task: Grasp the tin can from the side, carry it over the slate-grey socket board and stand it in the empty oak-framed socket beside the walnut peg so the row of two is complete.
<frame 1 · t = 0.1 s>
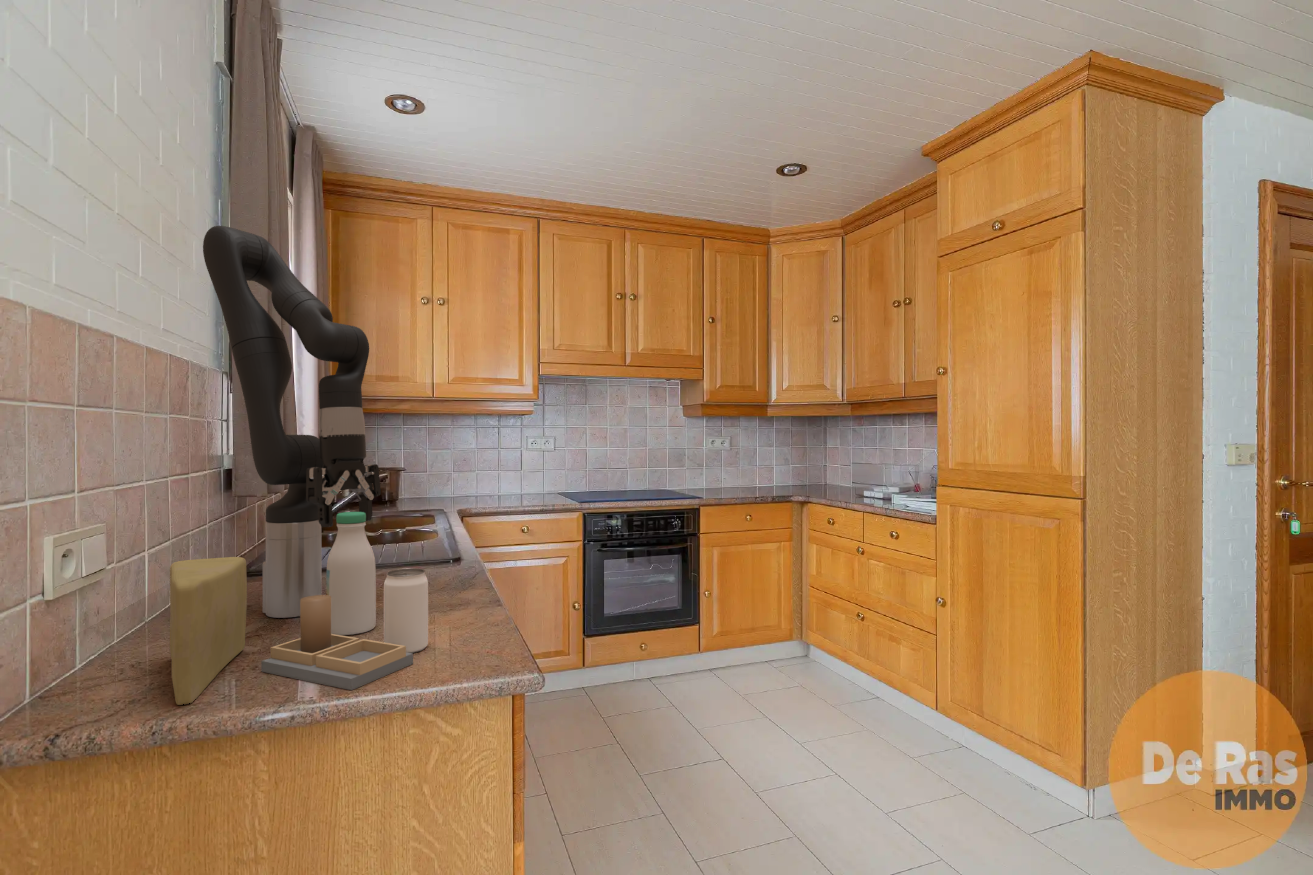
hand: (346, 523, 121), 17 cm above the counter, tool pointing down, fingers open, 8 cm apart
cheese: (198, 678, 93), on the counter
socket board: (338, 667, 96), on the counter
can: (406, 649, 105), on the counter
milk bottle: (351, 630, 115), on the counter
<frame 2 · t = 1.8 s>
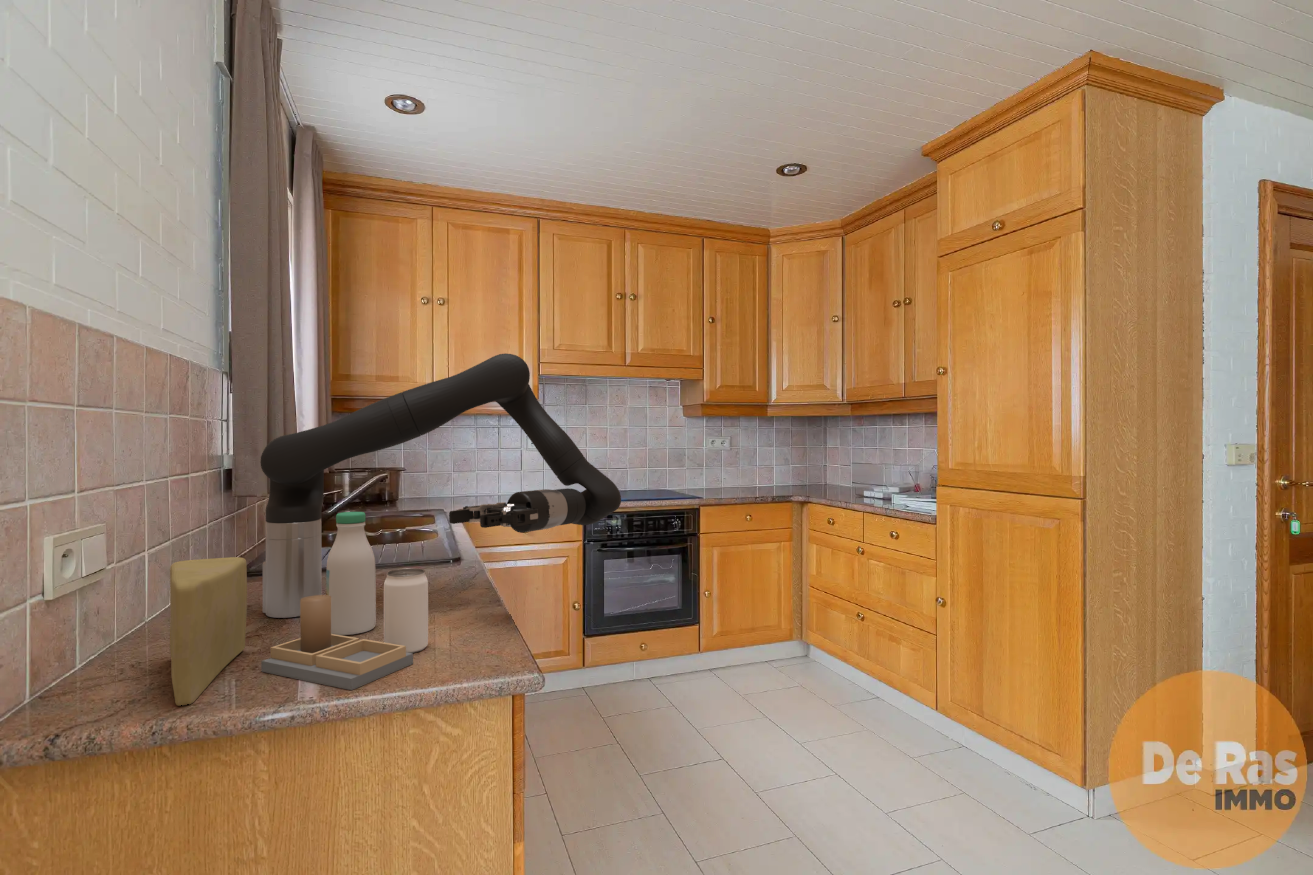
hand: (465, 519, 113), 19 cm above the counter, tool horizontal, fingers open, 8 cm apart
nothing on the counter moved.
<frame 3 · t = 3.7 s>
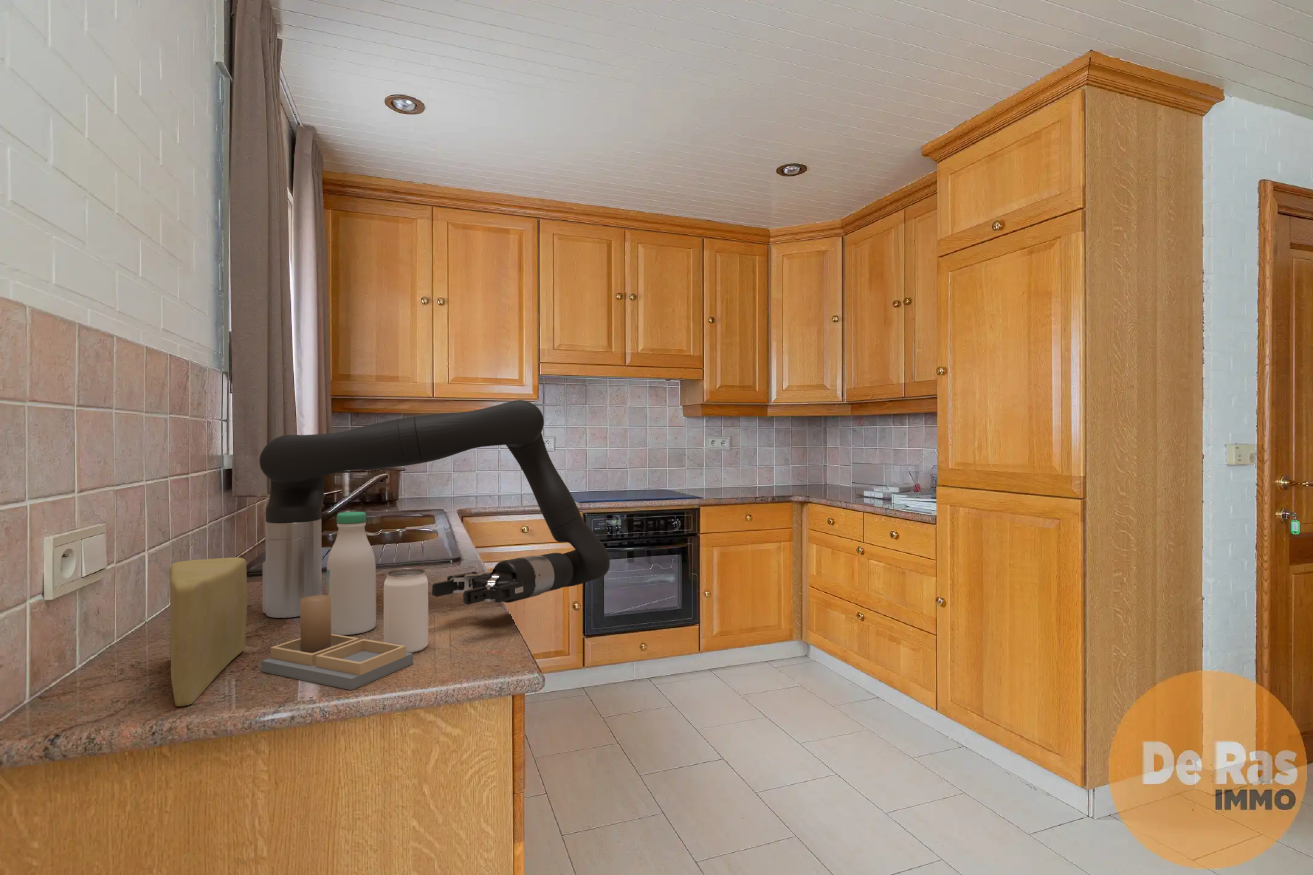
hand: (448, 594, 111), 7 cm above the counter, tool horizontal, fingers open, 8 cm apart
nothing on the counter moved.
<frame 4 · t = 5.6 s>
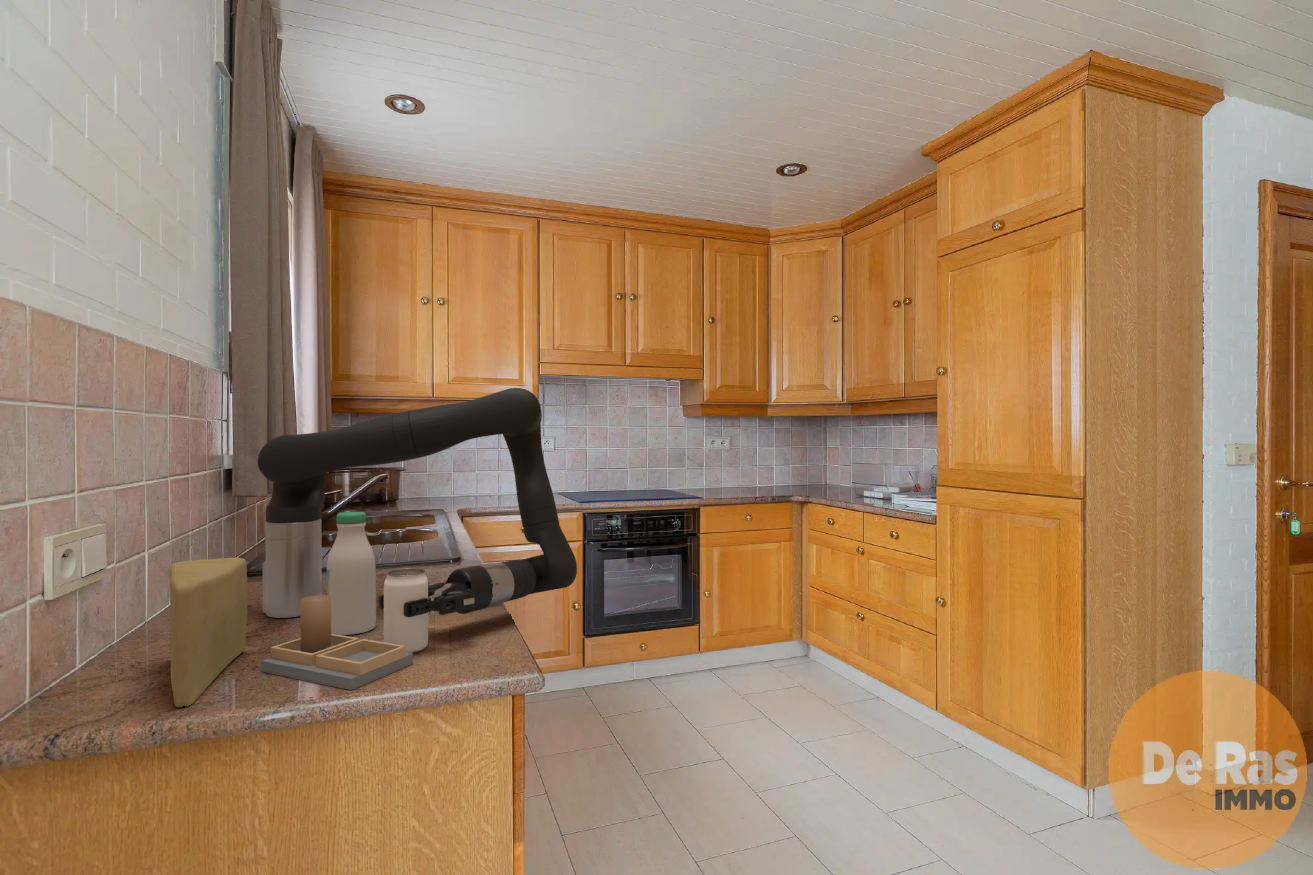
hand: (392, 606, 103), 7 cm above the counter, tool horizontal, fingers open, 6 cm apart
can: (406, 649, 105), on the counter, touching gripper
everything else where it was.
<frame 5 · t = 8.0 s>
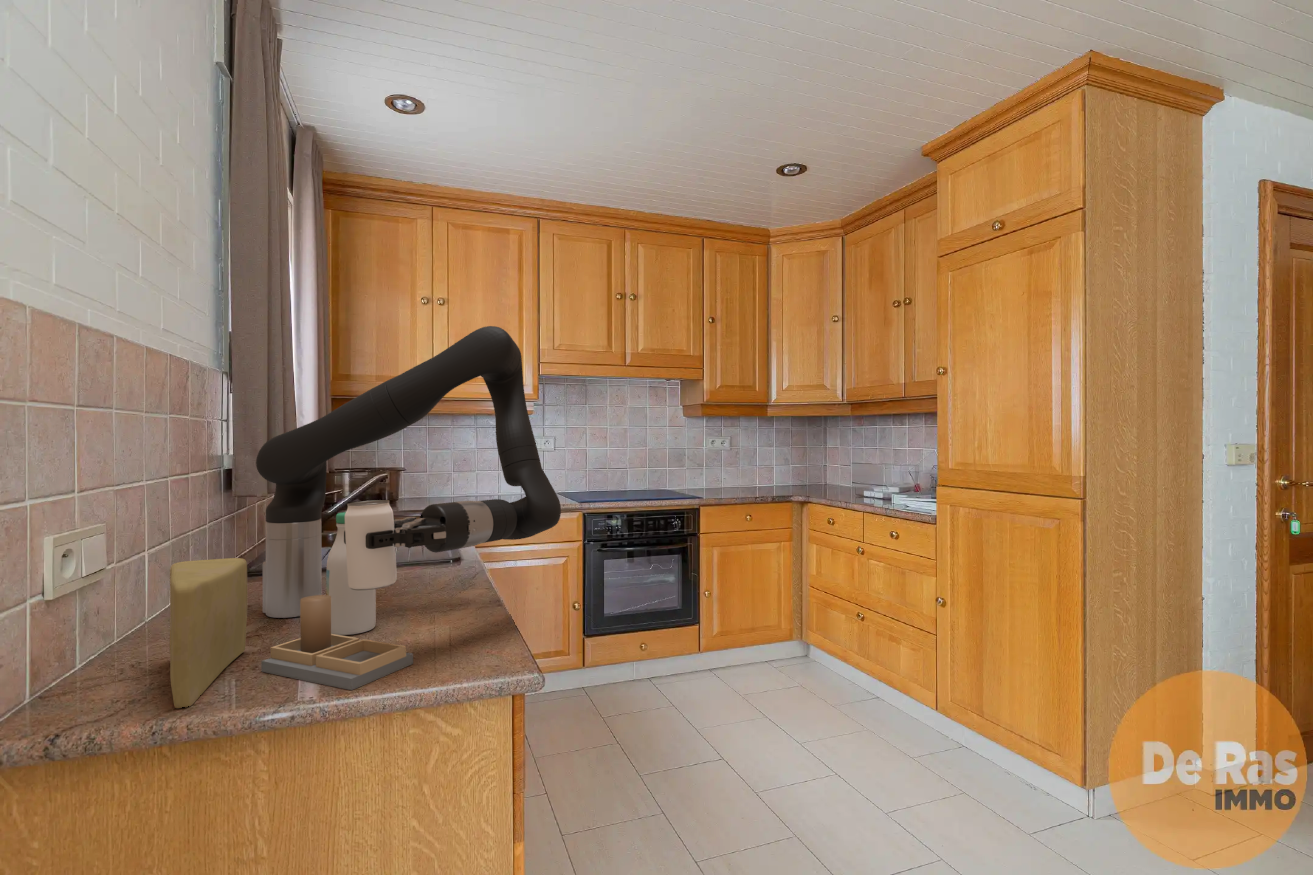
hand: (356, 539, 94), 19 cm above the counter, tool horizontal, fingers closed on can, 5 cm apart
can: (373, 586, 97), point 11 cm above the counter, touching gripper
when the fingers open (10 cm above the counter, at t = 10.2 s): can drops 2 cm, resting on socket board.
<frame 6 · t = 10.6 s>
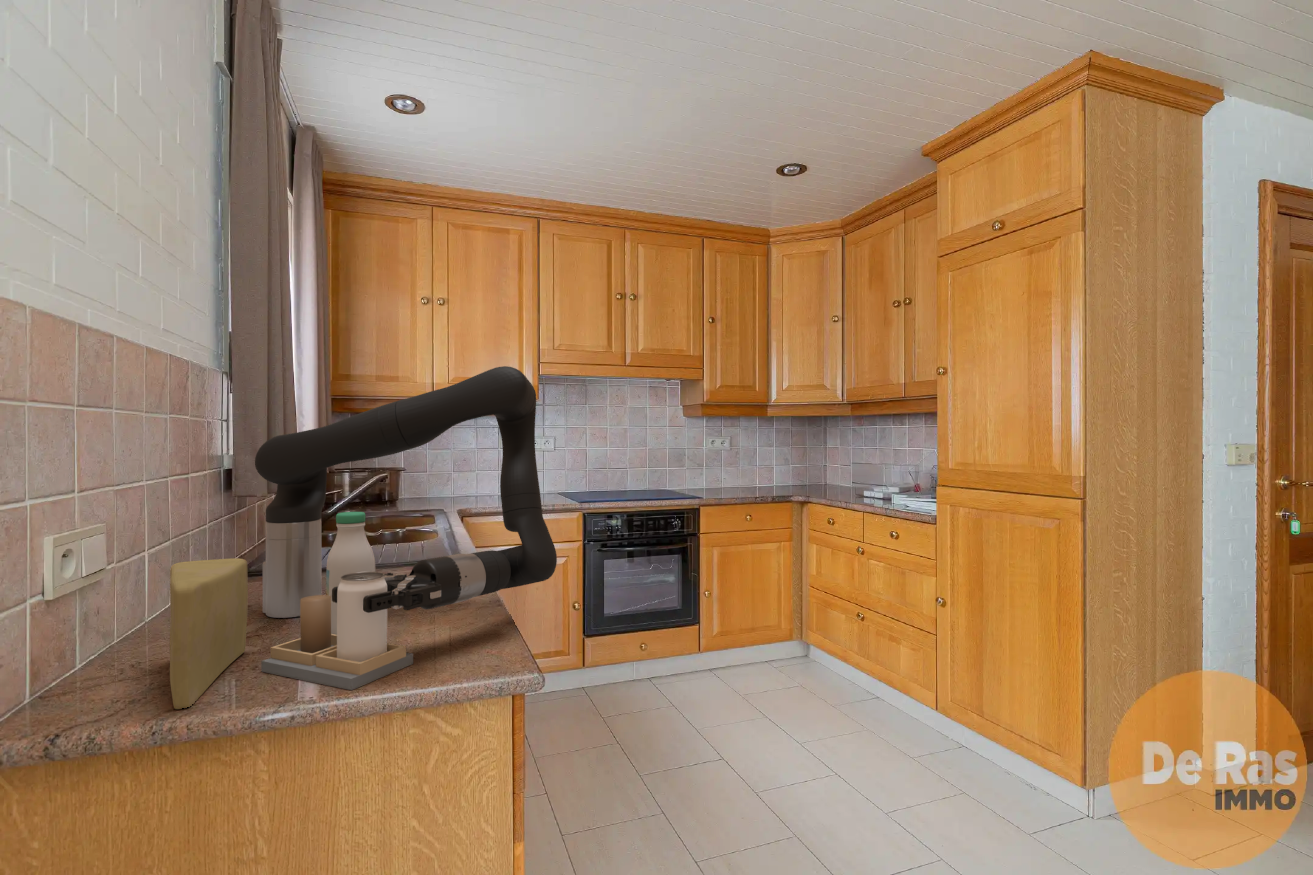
hand: (348, 600, 93), 11 cm above the counter, tool horizontal, fingers open, 8 cm apart
can: (362, 662, 95), point 1 cm above the counter, touching socket board
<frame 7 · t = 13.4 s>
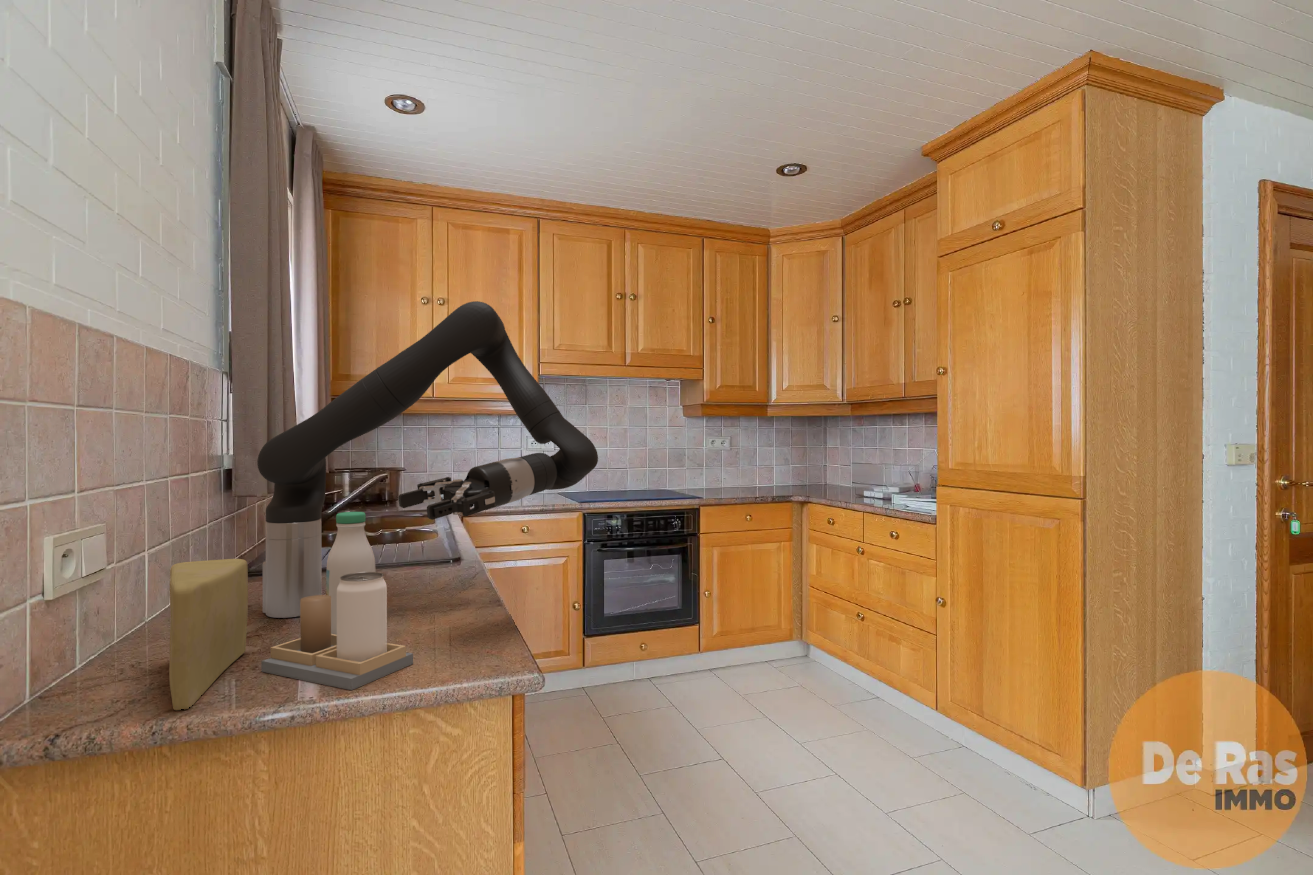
hand: (413, 507, 104), 22 cm above the counter, tool horizontal, fingers open, 8 cm apart
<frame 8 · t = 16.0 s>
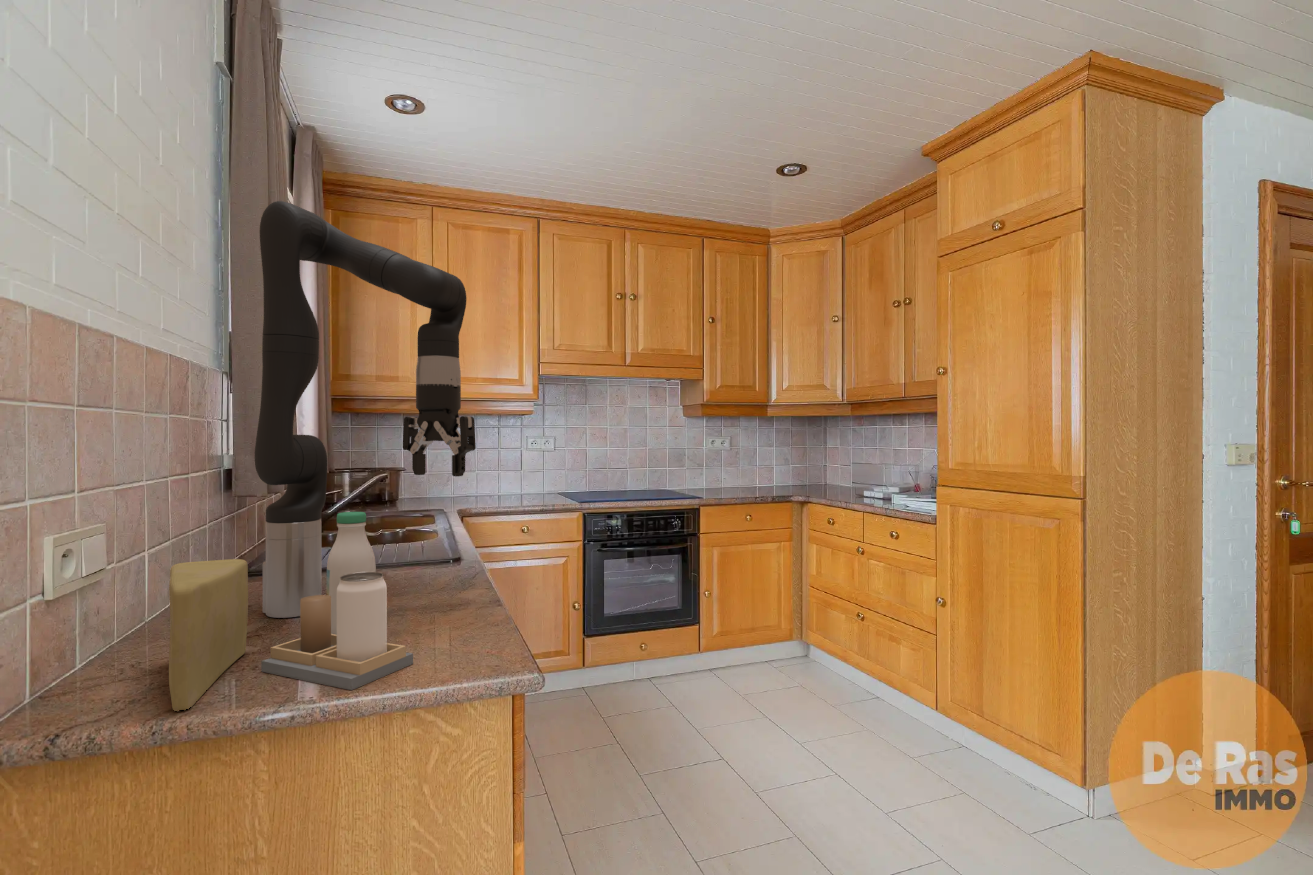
hand: (438, 475, 119), 26 cm above the counter, tool pointing down, fingers open, 8 cm apart
at the end: can 0.1 cm from the target spot on the socket board, point 1.3 cm above the socket board's base; can tilted 0°; the gripper is holding nothing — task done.
